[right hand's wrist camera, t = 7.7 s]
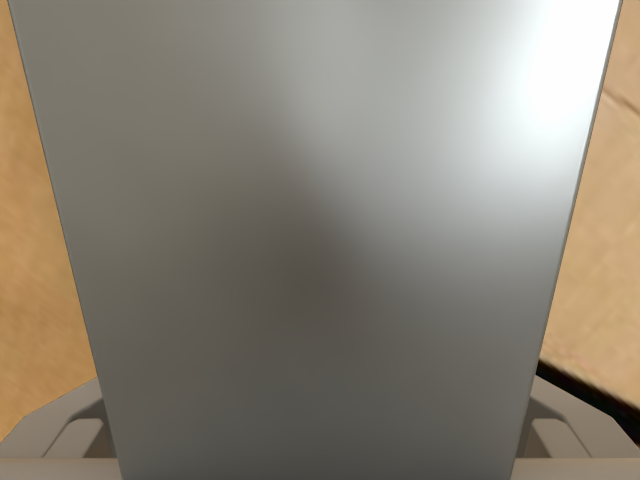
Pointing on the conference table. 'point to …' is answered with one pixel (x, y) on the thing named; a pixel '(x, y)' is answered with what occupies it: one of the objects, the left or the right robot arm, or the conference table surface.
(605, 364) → the conference table surface
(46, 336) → the conference table surface
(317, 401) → the bar
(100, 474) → the right robot arm
